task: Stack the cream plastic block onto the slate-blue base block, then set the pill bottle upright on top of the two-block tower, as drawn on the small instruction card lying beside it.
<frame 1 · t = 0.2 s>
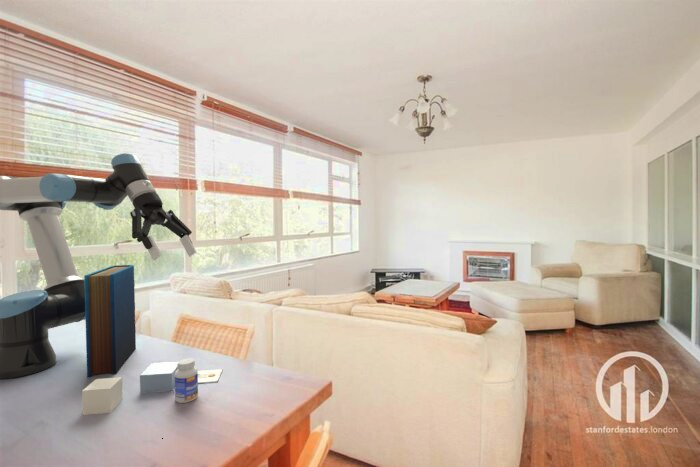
hand: (176, 256, 103), 35 cm above the table, tool tilted 35°, fingers open, 13 cm apart
book: (112, 361, 114), on the table
instruction card: (202, 377, 102), on the table
cream cube: (103, 407, 85), on the table
base block: (161, 385, 97), on the table
pill bottle: (186, 398, 90), on the table
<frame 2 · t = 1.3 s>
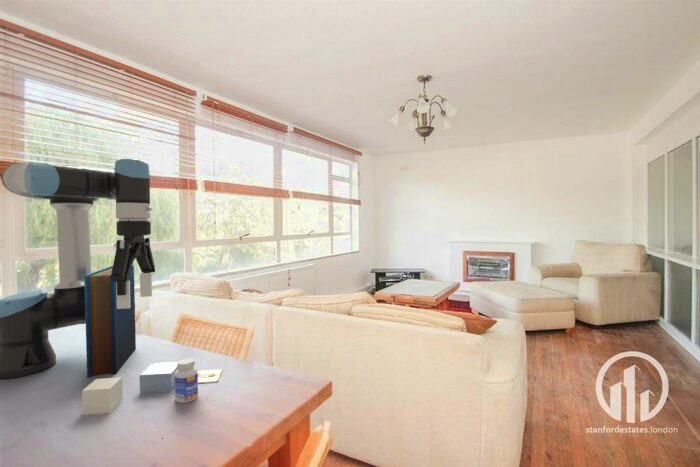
hand: (135, 302, 90), 25 cm above the table, tool pointing down, fingers open, 13 cm apart
nothing on the table moved.
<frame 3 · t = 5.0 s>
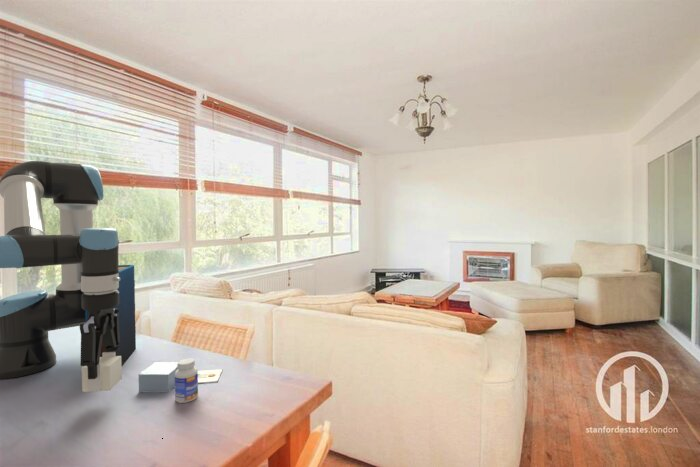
hand: (102, 383, 86), 6 cm above the table, tool pointing down, fingers closed on cream cube, 6 cm apart
book: (112, 361, 114), on the table, touching arm
cream cube: (102, 385, 86), point 5 cm above the table, touching gripper
everything else where it was.
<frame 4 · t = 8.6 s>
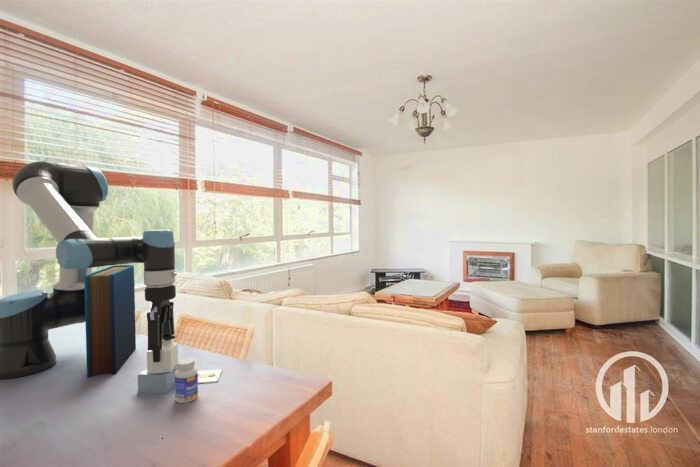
hand: (162, 367, 96), 5 cm above the table, tool pointing down, fingers closed on cream cube, 6 cm apart
book: (112, 361, 114), on the table
cream cube: (163, 368, 96), point 5 cm above the table, touching gripper
base block: (161, 386, 97), on the table, touching gripper
everything else where it was.
when the fingers open (5 cm above the table, at t = 8.8 s): cream cube stays where it is, resting on base block.
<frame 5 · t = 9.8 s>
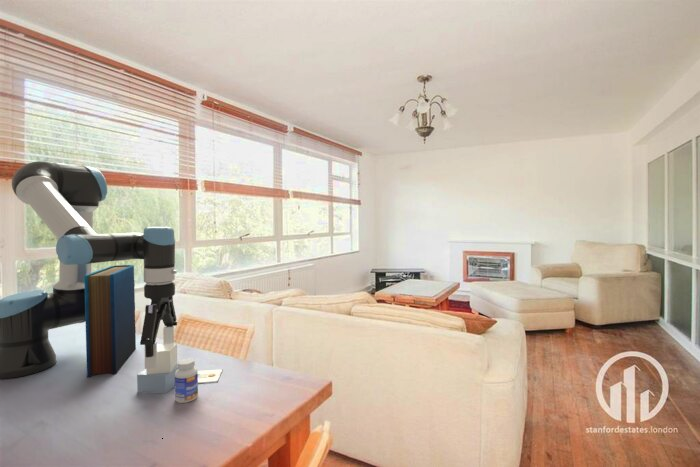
hand: (160, 357, 97), 8 cm above the table, tool pointing down, fingers open, 13 cm apart
cream cube: (162, 368, 96), point 5 cm above the table, touching base block
base block: (161, 386, 97), on the table, touching cream cube
everything else where it was.
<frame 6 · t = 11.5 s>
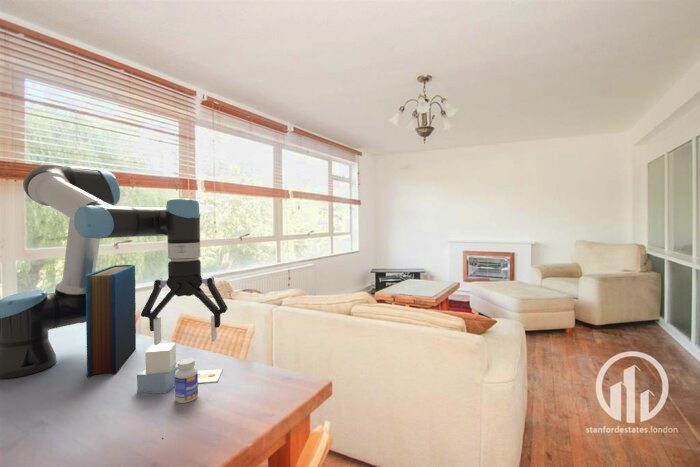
hand: (186, 341, 89), 15 cm above the table, tool pointing down, fingers open, 13 cm apart
cream cube: (161, 368, 97), point 5 cm above the table
base block: (160, 386, 97), on the table
everything else where it was.
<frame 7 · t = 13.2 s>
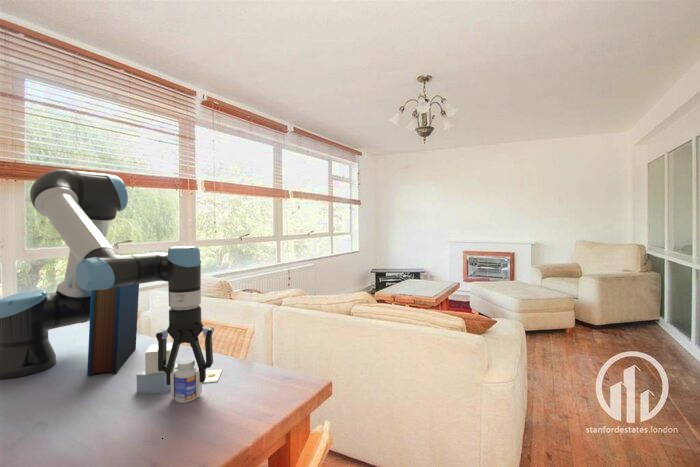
hand: (186, 394, 90), 1 cm above the table, tool pointing down, fingers closed on pill bottle, 5 cm apart
book: (112, 360, 114), on the table, touching arm
cream cube: (160, 368, 96), point 5 cm above the table, touching base block
base block: (160, 386, 97), on the table, touching cream cube
pill bottle: (186, 398, 90), on the table, touching gripper
when the fingers open (13 cm above the table, at t = 18.0 s): pill bottle drops 2 cm, resting on cream cube.
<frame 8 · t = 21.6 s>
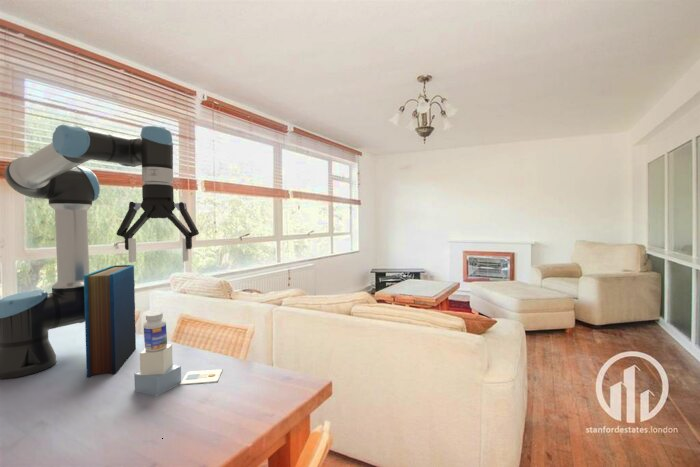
hand: (159, 261, 96), 35 cm above the table, tool pointing down, fingers open, 13 cm apart
book: (112, 361, 114), on the table
cream cube: (157, 369, 96), point 5 cm above the table, touching base block, pill bottle
pill bottle: (156, 348, 95), point 11 cm above the table, touching cream cube
at the end: cream cube 0.3 cm off-centre on the base block, point 5.1 cm above the base block's base; pill bottle 0.4 cm from the base block (horizontally); pill bottle point 10.6 cm above the table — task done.
